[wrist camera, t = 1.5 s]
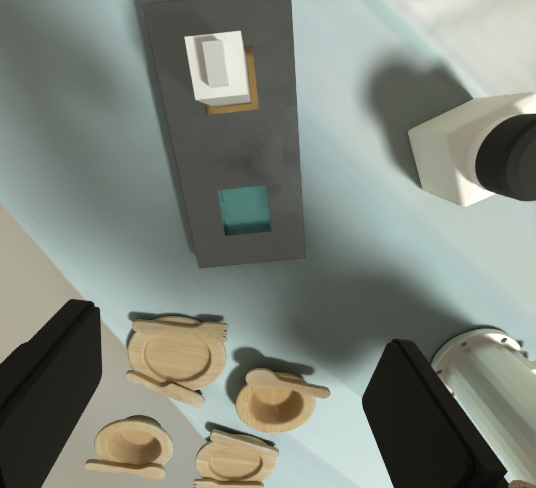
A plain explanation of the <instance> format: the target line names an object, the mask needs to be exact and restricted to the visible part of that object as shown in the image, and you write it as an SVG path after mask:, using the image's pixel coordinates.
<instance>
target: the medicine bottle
mask: <svg viewBox="0 0 536 488" xmlns="http://www.w3.org/2000/svg"><path fill="white" fill-rule="evenodd" d="M408 136H409V139H410V143H411V147H412V151H413V155H414V159H415V162H416V166H417V170H418V174H419V178H420V181H421V185H422V189H423V191H425V192H428V193H430V194H433V195H435V196H438V197H440V198H443V199H445V200H448V201H450V202H452V203H455V204H457V205H460V206H462V207H465V206H468V205H470V204H473V203H475V202H478V201H480V200H482V199H485V198H487V197H489V196H492V195H494V194H500V195H503V196H506V197H510V198H513V199H517V200H520V201H536V94H535V93H533V92H529V93H520V94H512V95H503V96H494V97H486V98H477V99H473V100H470V101H468V102H466V103H464V104H462V105H460V106H458V107H456V108H454V109H451V110H449V111H447V112H445V113H443V114H441V115H439V116H437V117H435V118H432V119H430V120H428V121H426V122H424V123H422V124H420V125H418V126H416V127H413V128H411V129H410V130H409V131H408Z"/></svg>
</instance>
